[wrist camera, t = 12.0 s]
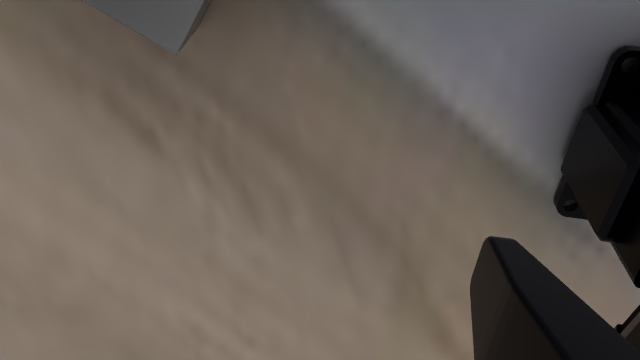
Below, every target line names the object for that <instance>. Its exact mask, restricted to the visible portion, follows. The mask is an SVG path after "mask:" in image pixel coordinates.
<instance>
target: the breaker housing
mask: <svg viewBox="0 0 640 360" xmlns="http://www.w3.org/2000/svg"><path fill="white" fill-rule="evenodd" d="M82 1H84V2H86V3H87V4H89V5H91V6H93V7H94V8H96V9H98V10H100V11H101V12H103V13H105V14H106V15H108V16H110V17H112V18H113V19H115V20H117V21H118V22H120V23H122V24H124V25H125V26H127V27H129V28H131V29H132V30H134V31H136V32H137V33H139V34H141V35H143V36H144V37H146V38H148V39H149V40H151V41H153V42H155V43H156V44H158V45H160V46H162V47H163V48H165V49H167V50H168V51H170V52H172V53H174V54H175V55H177V54H178V52H179V51H180V50H181V49H182V47H183V46H184V45H185V43H186V42H187V41H188V39H189V38H190V37H191V36H192V34H193V33H194V32H195V30H196V29H197V27H198V25H199V23H200V21H201V19H202V18H203V16H204V14H205V12H206V10H207V8H208V6H209V4H210V2H211V0H82Z"/></svg>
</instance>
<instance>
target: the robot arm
mask: <svg viewBox="0 0 640 360" xmlns="http://www.w3.org/2000/svg"><path fill="white" fill-rule="evenodd" d="M628 58H634V59H633V63H632V64H631V65H630V66H629V67H627V68H621V66H622V63H623V62H624V60H626V59H628ZM561 172H562V173H563V178H562V180H561V183H560V185H559V188H558V190H557V193H556V196H555V198H554V204H555V207H556V209H557V211H558V213H560V214H561V215H562V216H565V217H572V218H579V219H587V220H588V221H589V223H590V225H591V226H592V228H593V230H594V232H595V234H596V235H597V237H598V238H599V239H600V240H601V241H604V242H610V243H611V244H612V246H613V248H614V250H615V251H616V253H617V255H618V257H619V258H620V260H621V262H622V264H623V265H624V267H625V269H626V271H627V272H628V274H629V276H630V278H631V280H632V281H633V283H634V285H635V286H636V287H638V288H640V47H635V46H625V47H622V48H620V49H618V50H617V51H616V52H614V53H613V55H612V56H611V58H610V60H609V62H608V65H607V67H606V70H605V72H604V75H603V77H602V80H601V83H600V85H599V88H598V90H597V93H596V95H595V98H594V100H593V103H592V104H590V105H589V106H588V107H586V108H585V109H584V110H583V113H582V115H581V118H580V121H579V123H578V126H577V128H576V131H575V133H574V136H573V138H572V141H571V143H570V146H569V149H568V151H567V154H566V156H565V159H564V161H563V164H562V166H561ZM569 200H574V202H573V203H572V204H570V205H564V204H565V203H566V202H567V201H569ZM470 299H471V315H472V330H473V346H474V360H640V305H639V306H638V307H637V308H636V310H635V311H634V312H633V313H632V314H631V315H630V316H629V318H628V319H627V320H626V321H625V322H624V323H623V324H622V325H621V324H618V325H617V326H616V327H615V328H613V327H612V326H610V325H609V324H608V323H607V322H606V321H605V320H604V319H603V318H602V317H600V316H599V315H598V314H597V313H596V312H595V311H594V310H593V309H591V308H590V307H589V306H588V305H587V304H586V303H585V302H584V301H583V300H581V299H580V298H579V297H578V296H577V295H576V294H575V293H574V292H573V291H571V290H570V289H569V288H568V287H567V286H566V285H565V284H564V283H563V282H561V281H560V280H559V279H558V278H557V277H556V276H555V275H554V274H553V273H551V272H550V271H549V270H548V269H547V268H546V267H545V266H544V265H543V264H541V263H540V262H539V261H538V260H537V259H536V258H535V257H534V256H533V255H531V254H530V253H529V252H528V251H527V250H526V249H525V248H524V247H523V246H521V245H520V244H519V243H518V242H517V241H516V240H514V239H510V238H502V237H494V236H489V237H488V238H486V239H485V241H484V242H483V245H482V248H481V251H480V254H479V257H478V260H477V263H476V266H475V269H474V272H473V275H472V278H471V284H470Z"/></svg>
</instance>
